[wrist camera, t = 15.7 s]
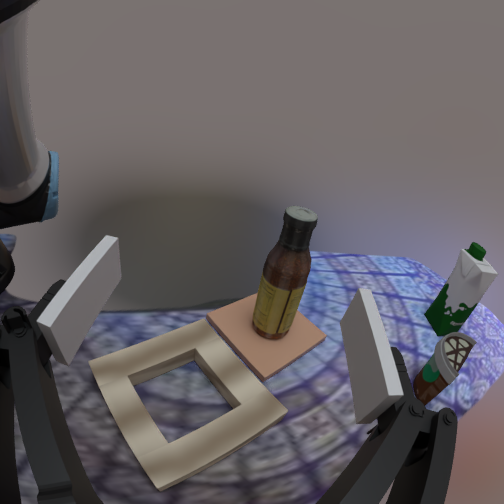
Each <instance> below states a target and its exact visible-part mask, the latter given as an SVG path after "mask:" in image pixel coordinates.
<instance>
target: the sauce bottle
mask: <svg viewBox="0 0 504 504" xmlns="http://www.w3.org/2000/svg"><path fill="white" fill-rule="evenodd" d="M317 219H318V217H317V215H316V214H315V213H314V212H313V211H311V210H309V209H306V208H303V207H299V206H291V207H288V208H287V209H286V210H285V214H284V217H283V220H284V225H283V229H282V232H281V235H280V238H279V241H278V242H277V244H276V245H275V247H274V248H273V249H272V250H271V251H270V253H269V254H268V256H267V259H266V262H265V264H264V268H263V273H262V277H261V281H260V285H259V290H258V294H257V299H256V303H255V308H254V312H253V322H252V324H253V326H254V328H255V330H256V331H257V333H258V334H259V335H261V336H263V337H266V338H270V339H279V338H282V337H283V336H285V335H286V334H287V333H288V331H289V329H290V327H291V325H292V323H293V320H294V317H295V315H296V312H297V309H298V306H299V303H300V300H301V297H302V295H303V292H304V289H305V286H306V283H307V277H308V275H309V272H310V268H311V266H310V265H311V256H310V252H309V242H310V239H311V235H312V231H313V229H314V228H315V227H316V224H317Z"/></svg>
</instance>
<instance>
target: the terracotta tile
mask: <svg viewBox="0 0 504 504" xmlns="http://www.w3.org/2000/svg"><path fill="white" fill-rule="evenodd" d="M257 294H258V293H256V294H254V295H252V296H249V297H246V298H244V299H242V300H239V301H237V302H234V303H232V304H229V305H227V306H224V307H222V308H220V309H217V310H215V311H212V312H210V313H207V316H206V319H207V320H208V321H209V323H210V324H211V325H212V326H213V327H214V328H215V330H216V331H217V332H218V333H219V334H220V335H221V337H222V338H223V339H224V340H225V341H226V342H227V343H228V345H229V346H230V347H231V348H232V349H233V350H234V351H235V352H236V354H237V355H238V356H239V357H240V358H241V359H242V360H243V361H244V362H245V364H246V365H247V366H248V367H249V368H250V369H251V370H252V371H253V372H254V373H255V374H256V375H257V376H258V378H259V379H260V380H261V381H262V382H264V381H266V380H267V379H269V378H270V377H272V376H273V375H275V374H276V373H278V372H279V371H281V370H283V369H284V368H286V367H287V366H289V365H290V364H291V363H293V362H294V361H296V360H297V359H299V358H300V357H302V356H303V355H305V354H306V353H307V352H309V351H310V350H312V349H313V348H314V347H316V346H317V345H319V344H320V343H321V342H323V341H324V340H325V338H326V336H327V335H325V334H324V333H323V332H322V331H321V330H320V329H318V328H317V327H316V326H315V325H314V324H313V323H311V322H310V321H309V320H308V319H307V318H306V317H304V316H303V315H302V314H301V313H300V312H299V311H298V310H297V312H296V315H295V317H294V320H293V323H292V325H291V327H290V329H289V331H288V333H287V334H286V335H285V336H283V337H282V338H279V339H270V338H266V337H263V336H261V335H259V334H258V333H257V331H256V330H255V328H254V326H253V324H252V322H253V312H254V308H255V303H256V299H257Z"/></svg>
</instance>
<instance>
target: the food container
mask: <svg viewBox="0 0 504 504" xmlns="http://www.w3.org/2000/svg"><path fill="white" fill-rule="evenodd" d="M476 343H477V342H476V341H475V340H474V339H472V338H471V337H469V336H467V335H465V334H463V333H459V332H453V333H450V334H448V335H446V336H445V337H443V338H442V339H441V340H440V341H439V342H438V343H437V344H436V346H435V351H434V354H433V355H432V357H431V358H430V359H429V361H428V362H427V363H426V365H425V366H424V367H423V369H422V370H421V371H420V372H419V374H418V375H417V376H416V378H415V380H414V385H413V387H414V393H415V396H416V398H417V399H418V400H420V401H421V402H422V403H423V404H424V406H425V405H426V404H427V403H429V402H430V401H431V400H432V399H433V398H434V397H436V396H437V395H438V394H439V393H440V392H441V391H442V390H443V389H444V388H446V387H447V386H448V385H450V384H451V383H452V382H453V381H454V380H455V378H456V377H457V376H458V375H459V374H458V371H459V370H460V368H461V367H462V365H463V363H464V362H465V360H466V359H467V357H468V354H469V353H470V351H471V349H472V348H473V346H474V345H475V344H476Z"/></svg>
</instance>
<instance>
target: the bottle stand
mask: <svg viewBox="0 0 504 504" xmlns="http://www.w3.org/2000/svg"><path fill="white" fill-rule="evenodd" d="M191 361H195V362H196V363H197V364H198V366H199V367H200V368H201V370H202V371H203V372H204V374H205V375H206V376H207V377H208V379H209V380H210V381H211V382H212V384H213V385H214V386H215V387H216V389H217V390H218V391H219V392H220V393H221V395H222V396H223V397H224V398H225V399H226V401H227V402H228V403H229V404H230V405H231V407H232V408H233V410H231V411H230V412H228V413H226V414H225V415H223V416H221V417H219V418H217V419H216V420H214V421H212V422H210V423H208V424H207V425H205V426H203V427H201V428H199V429H197V430H195V431H193V432H191V433H189V434H187V435H185V436H183V437H181V438H179V439H177V440H175V441H173V442H171V443H169V444H168V442H167V441H166V439H165V438H164V436H163V435H162V433H161V432H160V430H159V429H158V427H157V426H156V424H155V423H154V421H153V420H152V418H151V416H150V415H149V413H148V411H147V410H146V408H145V406H144V405H143V403H142V401H141V400H140V398H139V396H138V395H137V393H136V391H135V389H134V387H133V386H135V385H137V384H140V383H142V382H145V381H147V380H150V379H152V378H155V377H157V376H159V375H162V374H164V373H166V372H169V371H171V370H173V369H176V368H178V367H180V366H183V365H185V364H187V363H189V362H191ZM88 362H89V364H90V367H91V369H92V372H93V374H94V377H95V379H96V381H97V383H98V386H99V388H100V390H101V392H102V395H103V397H104V399H105V401H106V403H107V405H108V407H109V409H110V411H111V413H112V415H113V417H114V419H115V421H116V423H117V425H118V427H119V428H120V430H121V432H122V434H123V436H124V437H125V439H126V441H127V443H128V444H129V446H130V448H131V449H132V451H133V453H134V454H135V456H136V458H137V459H138V461H139V462H140V464H141V466H142V467H143V469H144V470H145V472H146V473H147V475H148V476H149V478H150V479H151V480H152V482H153V483H154V485H155V486H156V487H157V489H158V490H159V491H162V490H165V489H167V488H169V487H171V486H173V485H175V484H177V483H179V482H181V481H183V480H185V479H187V478H189V477H191V476H193V475H195V474H197V473H199V472H201V471H202V470H204V469H206V468H208V467H210V466H211V465H213V464H215V463H217V462H218V461H220V460H222V459H223V458H225V457H227V456H228V455H230V454H232V453H233V452H235V451H237V450H238V449H240V448H241V447H243V446H244V445H246V444H248V443H249V442H251V441H252V440H254V439H255V438H257V437H258V436H260V435H261V434H262V433H264V432H265V431H267V430H268V429H270V428H271V427H272V426H274V425H275V424H277V423H278V422H279V421H281V420H282V419H283V417H284V416H285V415H286V413H287V412H288V410H287V409H286V408H285V407H284V406H283V405H282V404H281V403H280V402H279V401H278V400H277V399H276V398H275V397H274V396H273V395H272V394H271V393H270V392H269V391H268V390H267V389H266V388H265V387H264V385H263V384H262V383H261V382H260V381H259V380H258V379H257V378H256V377H255V376H254V375H253V374H252V373H251V372H250V371H249V369H248V368H247V367H246V366H245V365H244V364H243V363H242V362H241V361H240V360H239V358H238V357H237V356H236V355H235V354H234V353H233V352H232V351H231V349H230V348H229V347H228V346H227V345H226V344H225V343H224V341H223V340H222V339H221V338H220V337H219V336H218V335H217V333H216V332H215V331H214V330H213V329H212V327H211V326H210V325H209V324H208V323H207V322H206V320H205V319H201V320H199V321H196V322H194V323H191V324H189V325H186V326H184V327H181V328H178V329H176V330H173V331H171V332H168V333H165V334H163V335H160V336H158V337H155V338H152V339H150V340H147V341H144V342H141V343H139V344H136V345H133V346H131V347H128V348H125V349H122V350H119V351H117V352H114V353H111V354H108V355H105V356H102V357H99V358H97V359H94V360H91V361H88Z"/></svg>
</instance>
